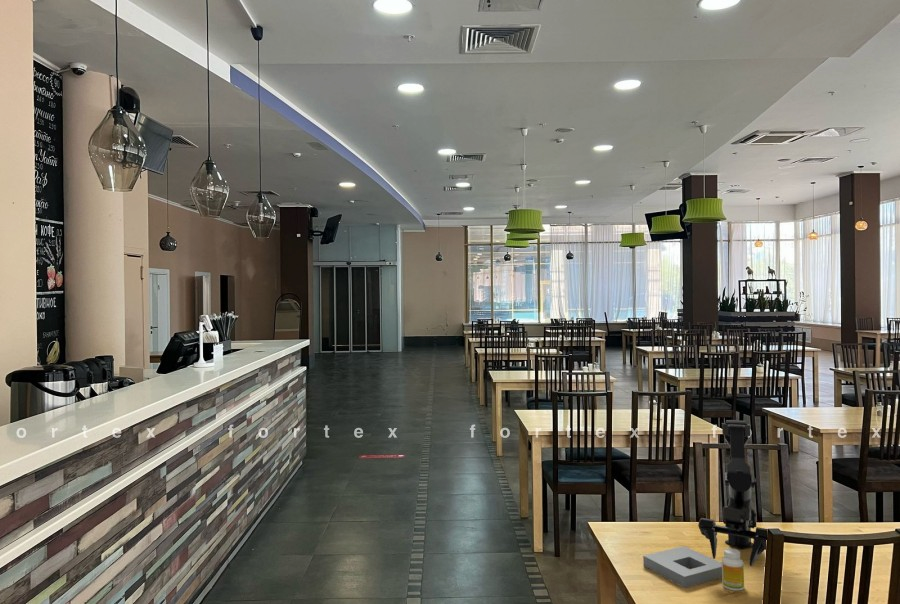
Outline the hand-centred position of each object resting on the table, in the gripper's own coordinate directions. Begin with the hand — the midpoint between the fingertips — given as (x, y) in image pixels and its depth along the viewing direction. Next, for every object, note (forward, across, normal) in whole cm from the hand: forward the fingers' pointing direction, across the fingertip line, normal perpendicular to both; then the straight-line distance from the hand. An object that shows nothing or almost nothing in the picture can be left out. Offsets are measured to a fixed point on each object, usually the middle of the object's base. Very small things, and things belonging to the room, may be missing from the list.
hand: (731, 561), depth 166 cm
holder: (+2, -14, +8) cm, 16 cm away
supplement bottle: (+4, 0, +6) cm, 7 cm away
